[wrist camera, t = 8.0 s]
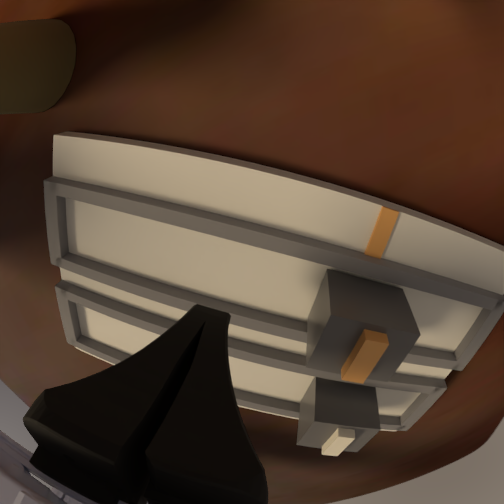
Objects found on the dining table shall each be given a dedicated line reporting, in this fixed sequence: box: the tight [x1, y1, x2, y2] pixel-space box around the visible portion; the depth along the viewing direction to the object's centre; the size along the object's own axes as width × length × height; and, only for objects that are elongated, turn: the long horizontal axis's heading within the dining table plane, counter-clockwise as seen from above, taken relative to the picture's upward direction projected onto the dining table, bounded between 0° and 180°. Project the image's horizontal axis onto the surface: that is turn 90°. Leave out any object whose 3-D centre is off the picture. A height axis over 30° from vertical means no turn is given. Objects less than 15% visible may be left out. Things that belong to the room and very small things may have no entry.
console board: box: [44, 131, 504, 431], centre depth 17 cm, size 16×26×2 cm, turn 78°
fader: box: [296, 377, 381, 456], centre depth 16 cm, size 3×4×4 cm
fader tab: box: [306, 269, 421, 384], centre depth 13 cm, size 3×4×4 cm
